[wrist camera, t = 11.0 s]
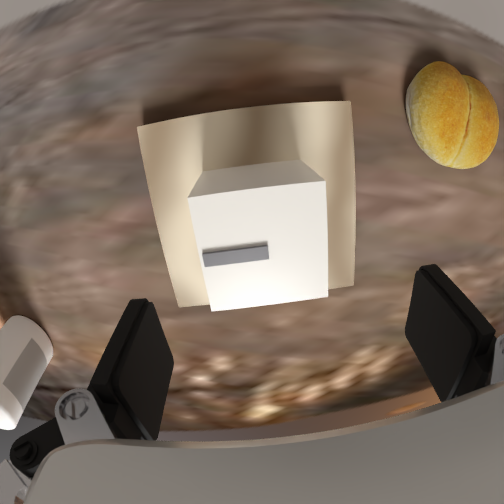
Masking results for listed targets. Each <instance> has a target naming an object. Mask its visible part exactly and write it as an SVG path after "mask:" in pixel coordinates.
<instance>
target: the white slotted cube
mask: <svg viewBox="0 0 504 504" xmlns="http://www.w3.org/2000/svg"><path fill="white" fill-rule="evenodd" d="M187 199H188V204H189V209H190V214H191V219H192V224H193V229H194V234H195V239H196V244H197V249H198V253H199V258H200V263H201V267H202V272H203V276H204V281H205V285H206V289H207V294H208V298H209V302H210V307H211V311H220V310H229V309H238V308H247V307H255V306H263V305H271V304H279V303H287V302H294V301H301V300H308V299H315V298H322V297H328V228H327V199H326V181H325V180H324V179H323V178H322V177H321V176H319V175H318V174H317V173H316V172H315V171H314V170H312V169H311V168H310V167H309V166H308V165H306V164H305V163H304V162H303V161H302V160H290V161H280V162H271V163H262V164H253V165H245V166H238V167H230V168H223V169H216V170H209V171H203V172H202V173H201V175H200V177H199V178H198V180H197V182H196V184H195V185H194V187H193V189H192V190H191V192H190V194H189V196H188V197H187Z"/></svg>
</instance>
